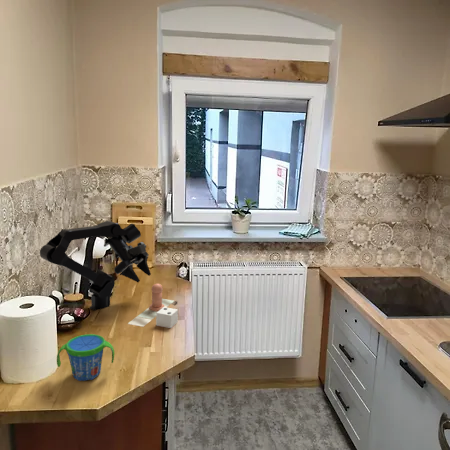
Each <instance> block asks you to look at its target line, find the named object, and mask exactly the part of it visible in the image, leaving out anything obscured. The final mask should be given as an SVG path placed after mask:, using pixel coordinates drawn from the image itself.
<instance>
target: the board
mask: <svg viewBox="0 0 450 450" xmlns="http://www.w3.org/2000/svg"><path fill="white" fill-rule="evenodd" d="M162 304H163V305H164V307H166V308H168V307H169V306H170V305H172V306H177V304H178V301H177V300H173V299H166V298H162ZM157 312H158V311H152V310H150V309H149V307H148V308H146V309H145V310H144V311H142V312H141V313H139V314H138V315H137V316H135V317H134V318H133V319H132V320H130V321H129V322H128V323H127V325H131V326H132V325H133V326H137V327H142V328H144V327H145V326H146V325H147V324H149V323H150V322H151V321H152V320H154V319H156V313H157Z"/></svg>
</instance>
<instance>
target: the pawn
mask: <svg viewBox="0 0 450 450" xmlns="http://www.w3.org/2000/svg"><path fill="white" fill-rule="evenodd" d="M163 290H164V289H163V285H162V284H161V283H154V284H152V287H151V304H149V306H148V308H149V309H150V310H152V311H153V312H155V311H159V310H160V309H162V308H163V307H164V305H163V304H162V299H163Z"/></svg>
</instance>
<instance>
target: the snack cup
mask: <svg viewBox="0 0 450 450" xmlns="http://www.w3.org/2000/svg"><path fill="white" fill-rule="evenodd" d="M105 348H108V349H110V351H111V364H113V363H114V360H115V348H114V347H113V345H112V344H111V343H110V342H109V341H107V340H105V338H104V337H103V336H102V335H100V334H94V333H90V334H89V333H88V334H87V333H86V334H82V335H78V336H74V337H73V338H70V339H69V340H68V341H67V342H66V343H64V344H63V345H62V346H61V347H60V348H59V349H58V352H57V354H56V365H57V367H59V368H60V367H61V364H62V362H61V357H60V353H61V352H62V351H64V350H65V351H66V353H67V356H68V359H69V365H70V368H71V374H72V376H73V378H74V379H75V380H77V381H78V382H81V381H82V382H85V381H90V380H91V381H92V380H94V379H95V378H96V377H98V376H99V375H100V374H101V370H102V362H103V357H104V349H105Z"/></svg>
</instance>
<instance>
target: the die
mask: <svg viewBox="0 0 450 450" xmlns="http://www.w3.org/2000/svg"><path fill="white" fill-rule="evenodd" d="M178 315H179V309H177V308H171V307H167V308H166V307H163V308H162V309H160V310H159V311H158V312H157V313H156V317H155V326H156V327H162V328H168V329H172V328H173V327H174V326H175V325H176V324H177V323H178V321H179V319H178V317H179V316H178Z"/></svg>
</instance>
